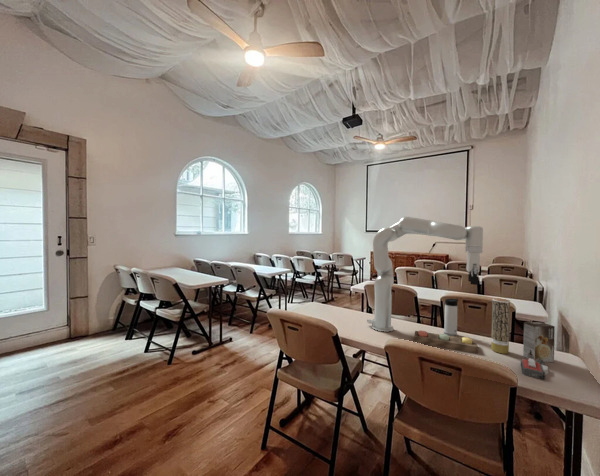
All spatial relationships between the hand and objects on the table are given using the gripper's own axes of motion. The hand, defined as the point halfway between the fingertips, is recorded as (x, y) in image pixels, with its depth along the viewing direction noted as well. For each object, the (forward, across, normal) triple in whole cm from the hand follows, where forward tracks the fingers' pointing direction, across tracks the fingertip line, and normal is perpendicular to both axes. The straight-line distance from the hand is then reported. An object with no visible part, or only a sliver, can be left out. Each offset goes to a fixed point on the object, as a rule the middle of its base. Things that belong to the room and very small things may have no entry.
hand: (473, 283), depth 142 cm
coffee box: (+31, +8, +25) cm, 41 cm away
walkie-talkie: (+32, +21, +20) cm, 43 cm away
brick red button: (+30, +9, -23) cm, 39 cm away
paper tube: (+31, +6, +11) cm, 34 cm away
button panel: (+31, +9, -13) cm, 35 cm away
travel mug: (+31, -9, -9) cm, 34 cm away
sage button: (+30, +9, -13) cm, 34 cm away
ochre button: (+30, +9, -3) cm, 31 cm away
